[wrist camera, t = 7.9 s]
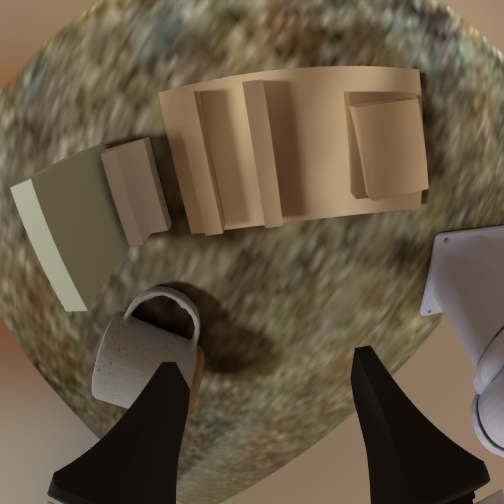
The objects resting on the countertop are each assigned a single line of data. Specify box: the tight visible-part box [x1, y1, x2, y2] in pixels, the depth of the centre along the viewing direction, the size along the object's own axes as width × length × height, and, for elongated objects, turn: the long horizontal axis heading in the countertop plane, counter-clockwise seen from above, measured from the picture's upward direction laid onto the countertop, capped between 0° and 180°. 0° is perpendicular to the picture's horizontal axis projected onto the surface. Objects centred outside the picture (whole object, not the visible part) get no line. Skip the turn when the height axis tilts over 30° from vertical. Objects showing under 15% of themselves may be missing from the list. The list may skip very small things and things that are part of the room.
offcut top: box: [350, 98, 429, 201], centre depth 14 cm, size 4×5×1 cm
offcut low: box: [343, 91, 417, 199], centre depth 15 cm, size 4×6×1 cm, turn 9°
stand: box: [101, 137, 172, 246], centre depth 17 cm, size 7×6×2 cm
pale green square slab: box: [11, 143, 131, 311], centre depth 14 cm, size 2×7×7 cm, turn 9°
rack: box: [159, 66, 423, 236], centre depth 15 cm, size 15×9×2 cm, turn 99°
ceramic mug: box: [92, 286, 204, 416], centre depth 21 cm, size 11×8×8 cm
